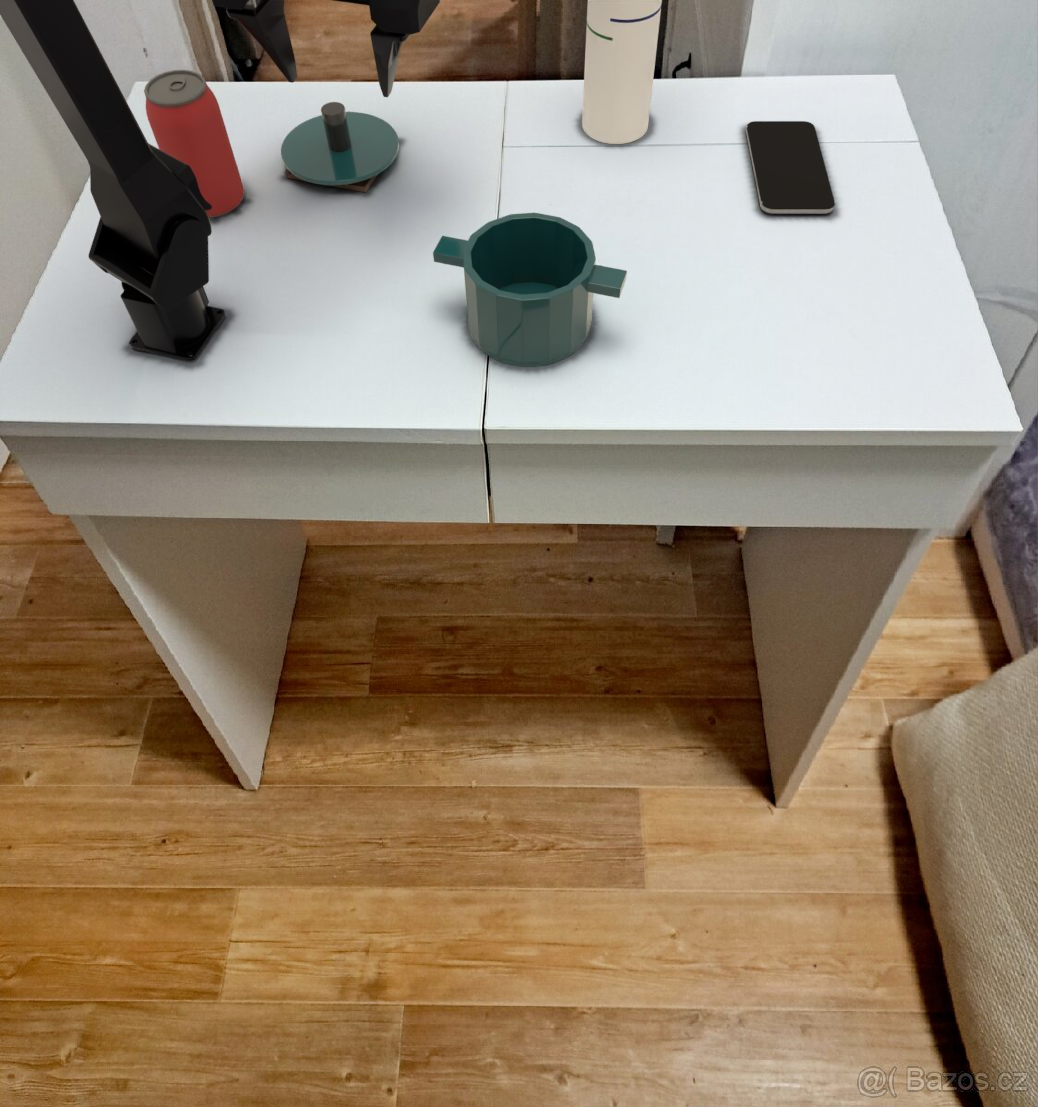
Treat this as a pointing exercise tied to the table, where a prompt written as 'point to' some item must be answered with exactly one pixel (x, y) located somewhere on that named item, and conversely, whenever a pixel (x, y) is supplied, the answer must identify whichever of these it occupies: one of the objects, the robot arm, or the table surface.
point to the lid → (339, 147)
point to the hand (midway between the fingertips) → (340, 87)
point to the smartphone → (789, 168)
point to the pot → (529, 286)
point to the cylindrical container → (619, 68)
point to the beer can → (195, 135)
